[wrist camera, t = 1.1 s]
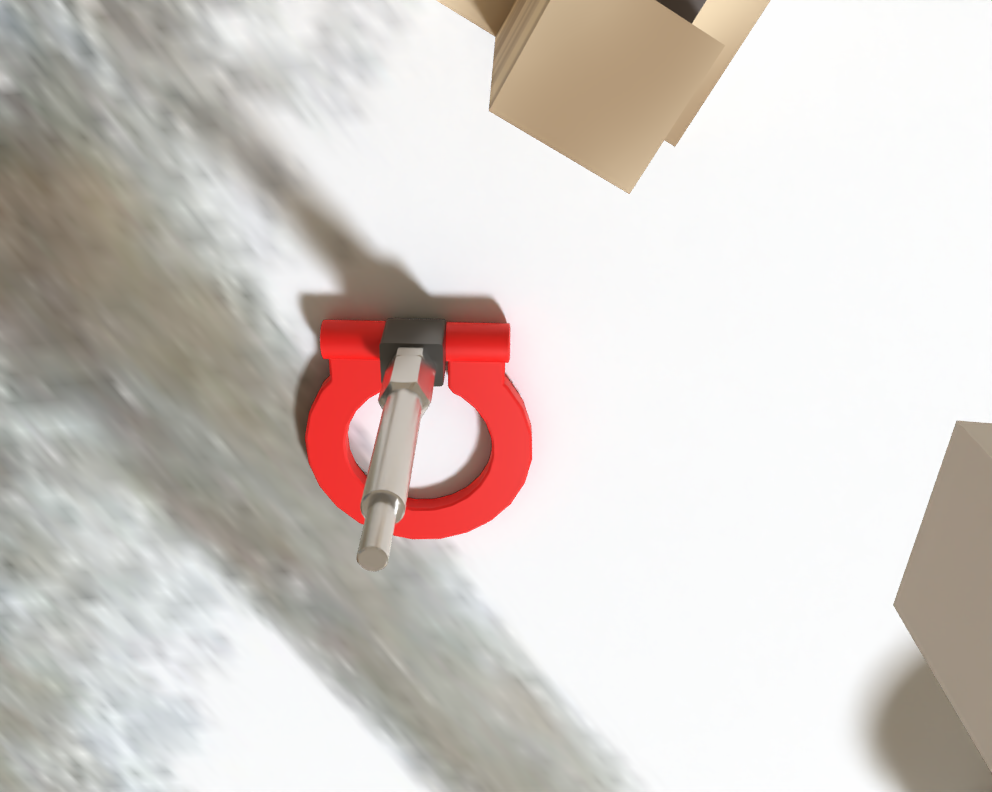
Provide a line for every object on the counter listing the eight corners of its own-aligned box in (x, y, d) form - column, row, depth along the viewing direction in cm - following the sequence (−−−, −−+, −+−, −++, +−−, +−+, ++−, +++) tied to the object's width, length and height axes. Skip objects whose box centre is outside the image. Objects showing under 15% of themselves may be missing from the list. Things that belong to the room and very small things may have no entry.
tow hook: (528, 525, 38) (536, 313, 34) (534, 799, 27) (548, 537, 22) (319, 520, 38) (299, 309, 34) (238, 792, 27) (193, 529, 23)
